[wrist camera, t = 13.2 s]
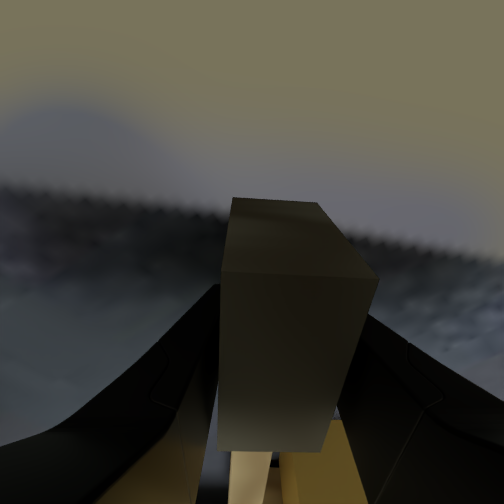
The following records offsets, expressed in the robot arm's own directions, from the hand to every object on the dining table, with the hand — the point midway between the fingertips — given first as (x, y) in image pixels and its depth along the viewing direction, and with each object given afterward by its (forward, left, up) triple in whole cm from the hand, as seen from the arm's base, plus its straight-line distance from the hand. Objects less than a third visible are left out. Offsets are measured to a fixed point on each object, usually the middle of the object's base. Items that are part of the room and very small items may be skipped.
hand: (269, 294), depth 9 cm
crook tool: (+2, -7, -2) cm, 8 cm away
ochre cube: (+4, -13, -2) cm, 14 cm away
